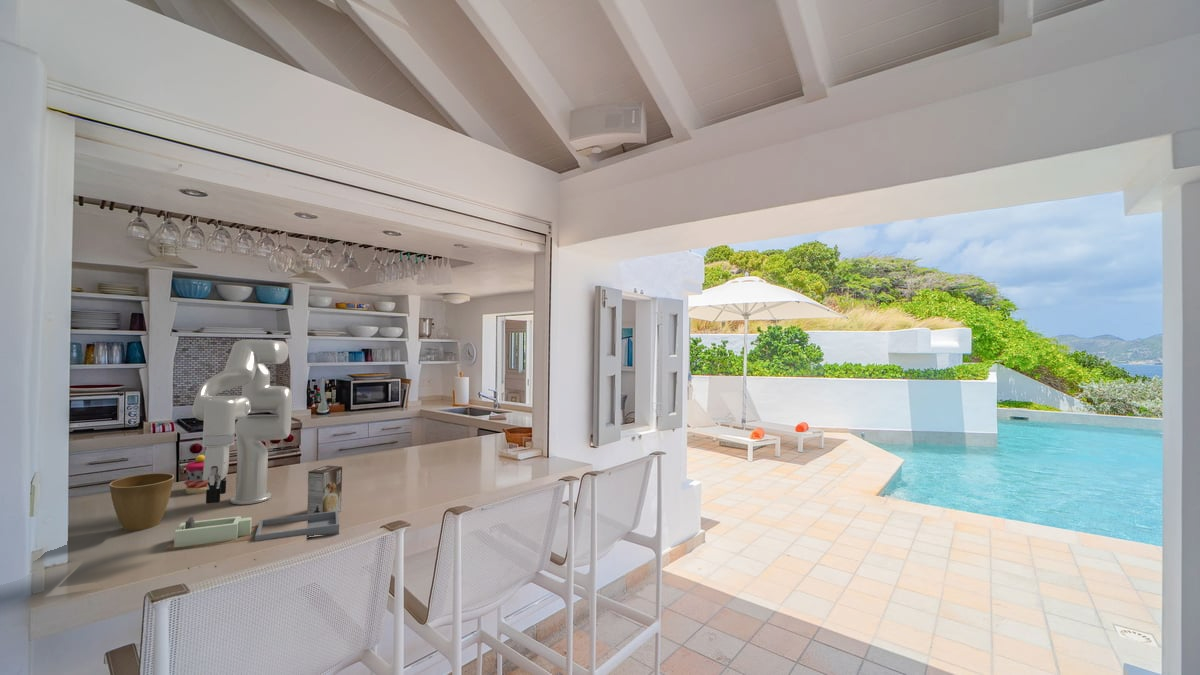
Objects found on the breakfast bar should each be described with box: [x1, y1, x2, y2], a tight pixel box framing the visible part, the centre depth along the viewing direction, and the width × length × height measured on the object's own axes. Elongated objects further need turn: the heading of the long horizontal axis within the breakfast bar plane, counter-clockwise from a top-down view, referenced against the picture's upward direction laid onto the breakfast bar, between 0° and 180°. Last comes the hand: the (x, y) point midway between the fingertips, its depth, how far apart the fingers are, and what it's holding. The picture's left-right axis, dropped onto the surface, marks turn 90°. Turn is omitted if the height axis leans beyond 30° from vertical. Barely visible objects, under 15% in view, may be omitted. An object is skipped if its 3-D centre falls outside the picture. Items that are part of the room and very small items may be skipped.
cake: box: [183, 453, 208, 495], centre depth 196 cm, size 10×11×15 cm
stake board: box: [163, 516, 257, 553], centre depth 148 cm, size 12×20×8 cm, turn 119°
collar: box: [174, 515, 253, 548], centre depth 148 cm, size 7×17×4 cm, turn 119°
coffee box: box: [306, 465, 343, 514], centre depth 174 cm, size 9×6×16 cm
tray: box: [254, 511, 340, 542], centre depth 158 cm, size 14×22×3 cm, turn 119°
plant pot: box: [109, 472, 175, 532], centre depth 155 cm, size 15×15×16 cm
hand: (216, 498), depth 148 cm, fingers open, 9 cm apart
